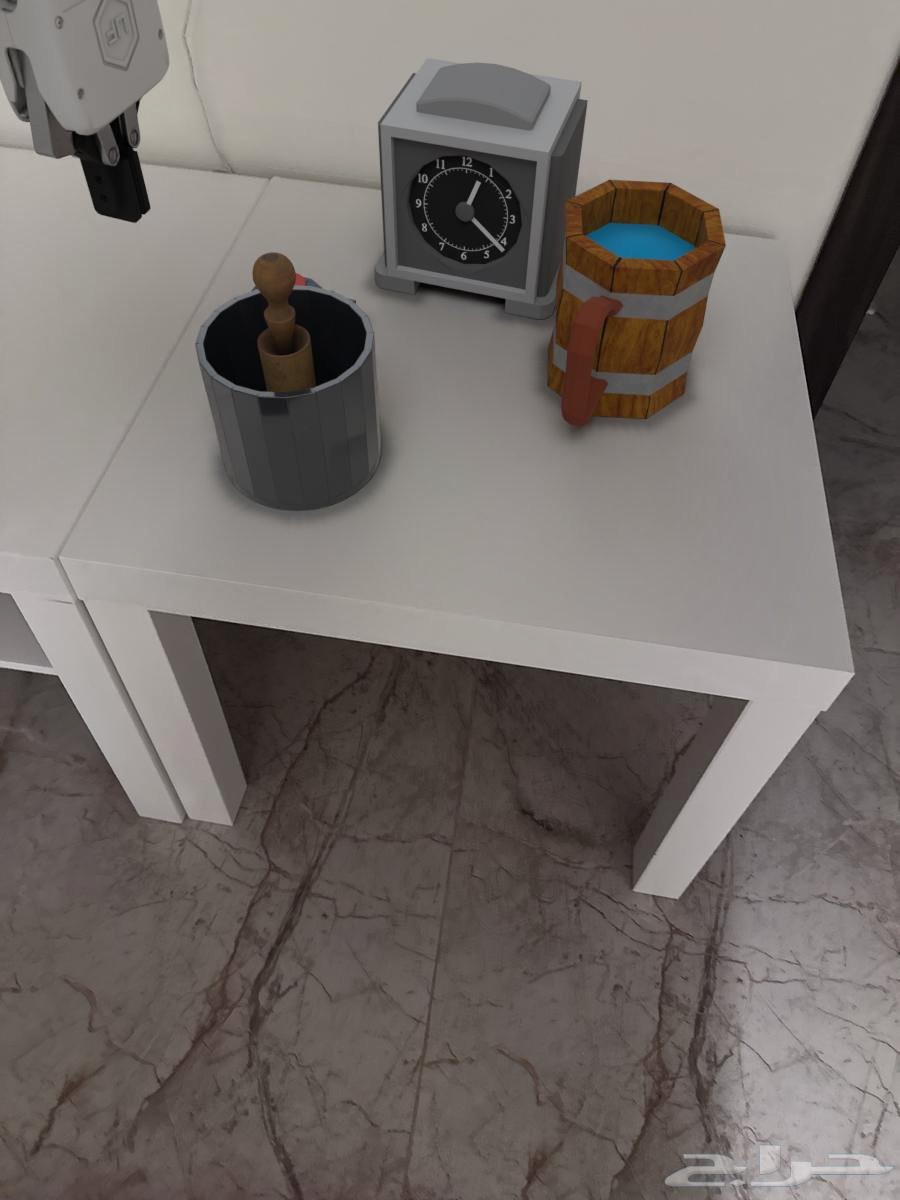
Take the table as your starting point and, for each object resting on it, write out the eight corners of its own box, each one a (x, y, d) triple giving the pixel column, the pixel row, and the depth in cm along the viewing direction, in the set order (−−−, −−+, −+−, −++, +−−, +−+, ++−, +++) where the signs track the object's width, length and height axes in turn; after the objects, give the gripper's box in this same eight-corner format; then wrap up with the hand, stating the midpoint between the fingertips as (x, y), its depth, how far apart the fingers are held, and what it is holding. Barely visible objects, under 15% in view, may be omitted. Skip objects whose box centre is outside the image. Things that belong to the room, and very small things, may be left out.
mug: (574, 310, 91) (595, 162, 79) (706, 351, 88) (749, 203, 76) (490, 433, 81) (500, 285, 69) (636, 485, 77) (673, 338, 65)
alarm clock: (371, 286, 93) (360, 99, 79) (412, 216, 101) (409, 34, 86) (549, 321, 90) (571, 133, 76) (577, 247, 98) (603, 63, 83)
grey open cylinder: (196, 485, 77) (162, 371, 67) (268, 386, 84) (247, 270, 74) (342, 528, 74) (328, 416, 64) (403, 422, 82) (399, 307, 72)
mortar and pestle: (247, 460, 77) (205, 271, 63) (284, 411, 81) (252, 222, 66) (318, 483, 76) (292, 295, 61) (353, 432, 80) (335, 243, 65)
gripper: (2, -76, 41) (111, 288, 55) (175, -166, 49) (229, 170, 64) (-139, -101, 42) (4, 261, 57) (53, -184, 51) (134, 148, 65)
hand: (123, 212), depth 60 cm, fingers closed
